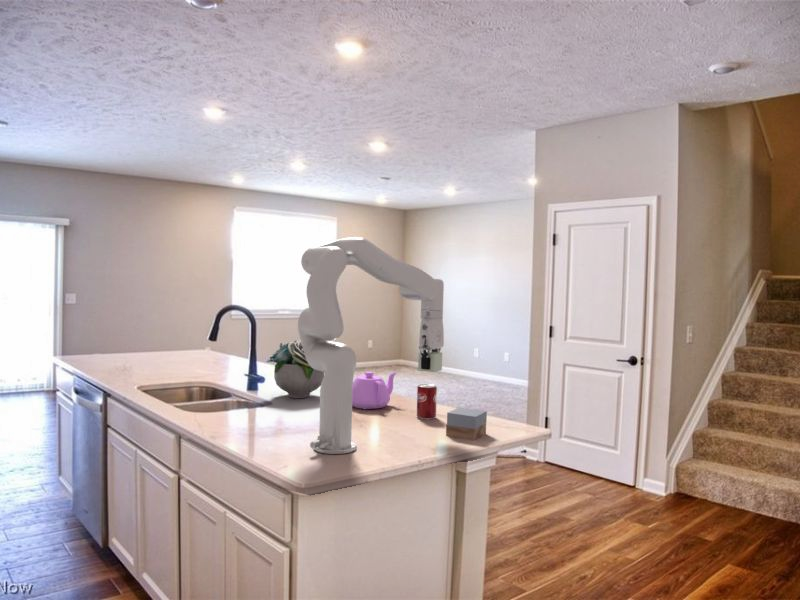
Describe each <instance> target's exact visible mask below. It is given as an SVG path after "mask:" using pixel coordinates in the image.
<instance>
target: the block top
mask: <svg viewBox="0 0 800 600" xmlns="http://www.w3.org/2000/svg"><path fill="white" fill-rule="evenodd" d="M446 413H447V414H446V425H452V426H458V427H465V428H471V429H477V428H478V427H480V426H482V425H484V424H485V423H486V424H487V415H488V411H487V410H481V409H474V408H473V409H472V408H466V407H458V408H455V409H453V410H450V411H448V412H446Z"/></svg>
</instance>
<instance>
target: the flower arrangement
mask: <svg viewBox="0 0 800 600" xmlns="http://www.w3.org/2000/svg"><path fill="white" fill-rule="evenodd" d="M266 363H276V364H275V365H274V371H273V373H274V375H273V376H274V381H275V384H276V386H278V388H280V389H281V390H282V391H284V392H286V393H287V395H288V396H289V398H293V399H305V398H308V397H310V394H311V393H313V392H314V391H316V390H318V388H321V383H322V380H323V378H324V375H325V372H321V371H318V370H315V369H313V368H312V367H311V366H310V365H309V364H308V362H307V360H306V357H305V354H304V350H303V347H302V343H301V339H300V340H294V341H289V342H288V343H285V344H283V343H280V344H279V348H277V350H275V352H274V353H273V354H272V356H270V357H269V358H268V359H267V360H266Z"/></svg>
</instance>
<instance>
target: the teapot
mask: <svg viewBox="0 0 800 600" xmlns="http://www.w3.org/2000/svg"><path fill="white" fill-rule="evenodd" d="M397 373H398V371H397V370H396V371H394V372H391V373H390V374H389V376H388V379H387V384H386V382H385V380H384V379H383V378H382V377H381V376H379V375H374V372H373V371H365V372H364V375H358V376H356V377H355V379H353V388H352V408H353V407H354V408H358V409H362V408H365V409H364V410H369V409H374V410H376V409H381V408H384V407H386V406H387V405H388V404H389V403H390V400H391V394H392V393H393V390H394V378H395V376H396V374H397Z"/></svg>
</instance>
